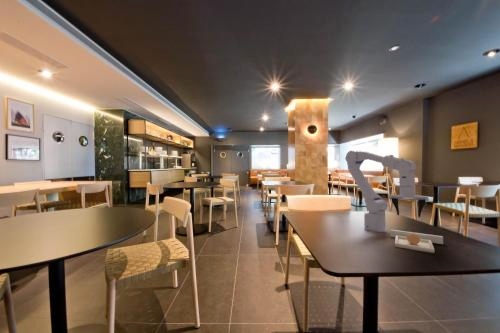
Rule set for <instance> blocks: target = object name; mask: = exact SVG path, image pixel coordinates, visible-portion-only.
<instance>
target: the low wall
mask: <svg viewBox="0 0 500 333" xmlns="http://www.w3.org/2000/svg"><path fill="white" fill-rule="evenodd" d="M410 233H414V234H416V235H418V236H419V238H420V239H426V240H431V242H432V244H438V245H444V236H443V235H437V234H436V235H434V234H429V233H428V234H427V233H421V232H413V231H405V230H404V231H403V230H397V229H390V237H392V238H396V235H398V236H405V237H407V235H408V234H410Z"/></svg>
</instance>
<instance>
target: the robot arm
mask: <svg viewBox="0 0 500 333" xmlns="http://www.w3.org/2000/svg"><path fill="white" fill-rule="evenodd" d="M344 160H345V162H346V164H347V170H348V172H349V174H350V175H351V176H352V178H353V180H354V181H355V183H356V185H357V186H358V188H359V190H360V191H361V193H362V194H363V196H364V200H363V201H364V203H365V208H366V209H367V211H365V212H364V219H363V220H364V223H363V224H364V230H365V231H369V232H370V231H371V232H379V233H387V232H388V231H387V230H388V227H386V222H387V221H386V210H387V209H388V206H389V205H388V202H387V201H386V200H384V199H383V198H382V197H381V195H380V194H378V193H376V191H375V190H374V189H373V187H372V186H371V184H370V182H369V181H368V179H367V178H366V176H365V175H364V173H363V172H362V170H361V169H360V168H361V166H362V164H363V163H364V161H366V160H370V161H372V162H378V163H381V165H382V167H385V168H388V169H392V170H394V171H398V173H399V174H398V179H399V194H388V200H391V202H392V204H393V206H394V208H395V211H396V215H397V216H399V215H400V209H399V208H400V207H399V200H403V201H404V200H405V201H417V205H418V206H417V207H418V209H417V217H418V218H421V213H422V211H423V208H424V207H425V204H426V202H429V196H428V195H427V196H426V195H417V194H416V177H415V176H416V175H415V171H416V169H417V164H416V163H415V162H414V161H413V160H411V159H407V160H405V158H404V157H400V158H399V157H396V156H395V155H393V154H388V155H384V156H382V155H378V154H376V153H373V152H369V151H362V150H349V151H348V152H346V155H345V159H344Z"/></svg>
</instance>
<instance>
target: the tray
mask: <svg viewBox="0 0 500 333" xmlns="http://www.w3.org/2000/svg"><path fill="white" fill-rule="evenodd" d="M394 238H395V239H394V240H395V242H394V247H395V248H401V249H406V250H412V251H419V252H424V253H430V254H435V248H434V245H433V243H432V242H431V240H426V239H420V242H419V243H418V244H411V243H409V242H408V241H407V238H406V237H405V236H398V235H396V237H394Z"/></svg>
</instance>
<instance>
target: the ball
mask: <svg viewBox="0 0 500 333" xmlns="http://www.w3.org/2000/svg"><path fill="white" fill-rule="evenodd" d="M414 233H415V232H414ZM414 233H410V234H408V235H407V237H406V238H407V241H408V242H409V243H411V244H418V243H419V242H420V238H419V236H418V235H416V234H414Z"/></svg>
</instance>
